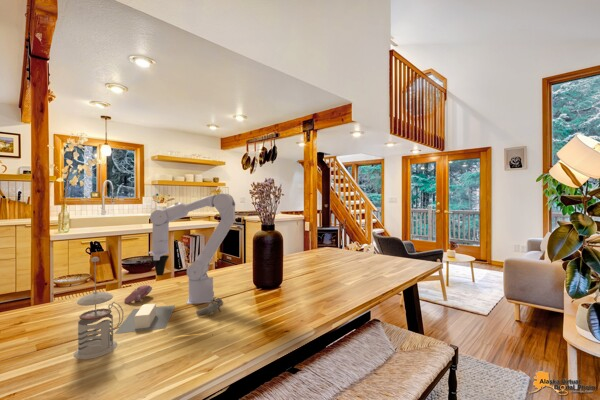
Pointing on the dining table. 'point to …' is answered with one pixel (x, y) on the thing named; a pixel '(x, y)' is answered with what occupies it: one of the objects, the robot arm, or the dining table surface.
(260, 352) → the dining table surface
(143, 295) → the video game controller
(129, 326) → the slate mat
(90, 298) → the french press
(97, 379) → the dining table surface
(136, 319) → the cream block
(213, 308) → the grey toy figure
